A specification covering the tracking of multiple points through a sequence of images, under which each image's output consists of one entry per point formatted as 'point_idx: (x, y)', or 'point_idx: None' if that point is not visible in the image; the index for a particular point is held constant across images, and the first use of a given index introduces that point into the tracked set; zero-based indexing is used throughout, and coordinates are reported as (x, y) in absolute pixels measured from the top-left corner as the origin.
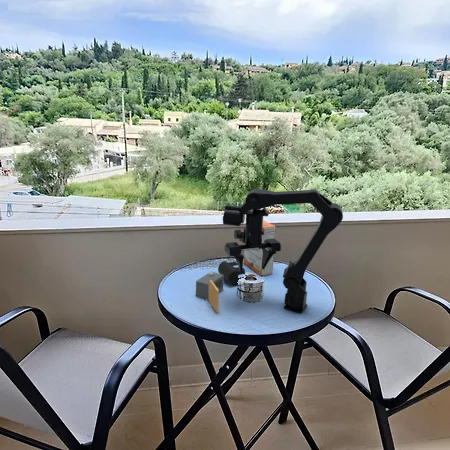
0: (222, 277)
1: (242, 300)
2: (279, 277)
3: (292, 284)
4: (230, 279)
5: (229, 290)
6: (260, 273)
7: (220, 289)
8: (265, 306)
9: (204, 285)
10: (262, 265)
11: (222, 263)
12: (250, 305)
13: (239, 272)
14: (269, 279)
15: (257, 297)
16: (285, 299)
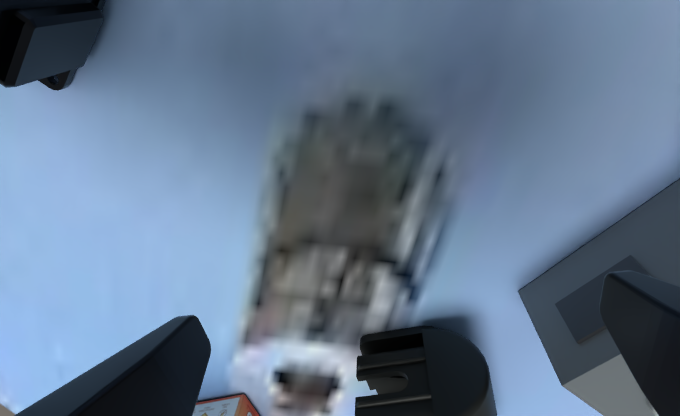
0: (573, 363)
1: (434, 141)
2: None
3: None
4: (472, 358)
5: (478, 280)
6: (243, 411)
7: (555, 282)
8: (272, 23)
9: None
10: (181, 385)
11: None
12: (394, 53)
13: (401, 410)
14: None
15: (310, 173)
16: (66, 10)
